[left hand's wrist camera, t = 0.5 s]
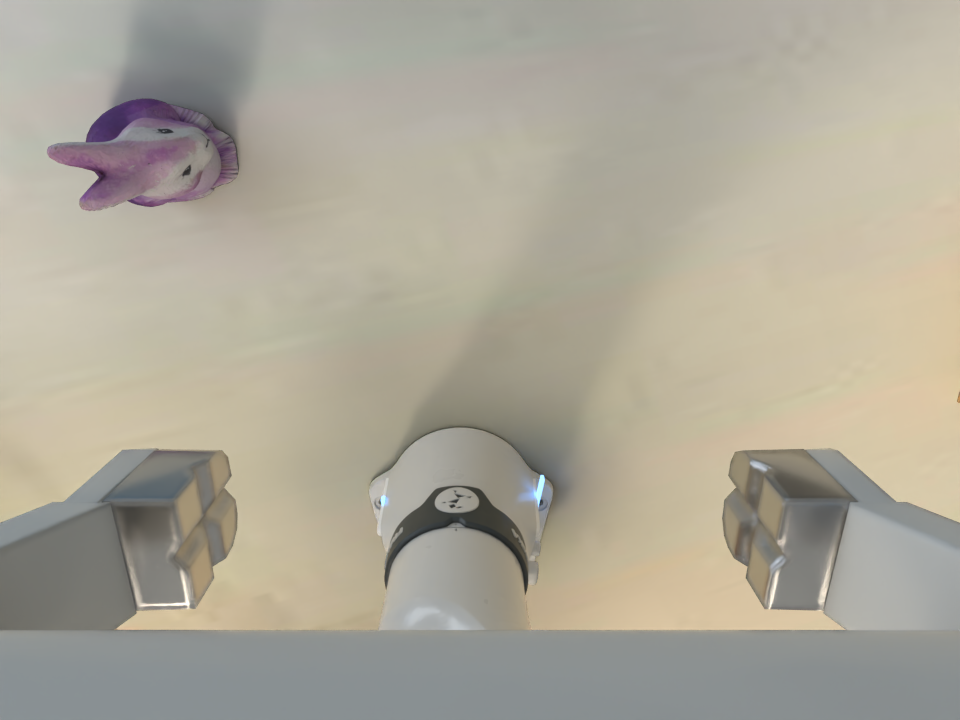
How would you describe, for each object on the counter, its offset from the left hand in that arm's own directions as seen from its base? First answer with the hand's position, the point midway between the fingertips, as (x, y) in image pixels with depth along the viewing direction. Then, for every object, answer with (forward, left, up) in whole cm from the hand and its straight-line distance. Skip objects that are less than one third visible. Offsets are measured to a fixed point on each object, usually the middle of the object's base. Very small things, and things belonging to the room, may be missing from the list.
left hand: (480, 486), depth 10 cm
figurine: (+3, +25, -47) cm, 53 cm away
